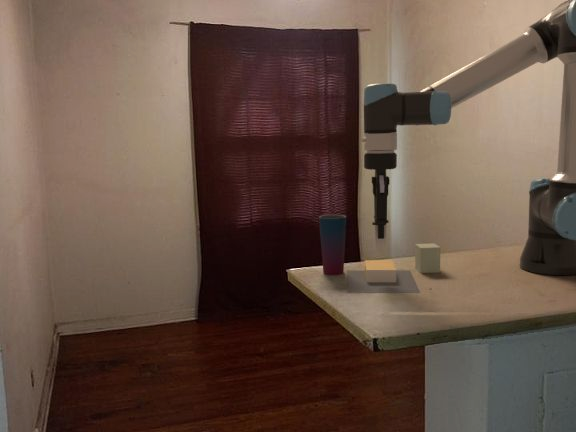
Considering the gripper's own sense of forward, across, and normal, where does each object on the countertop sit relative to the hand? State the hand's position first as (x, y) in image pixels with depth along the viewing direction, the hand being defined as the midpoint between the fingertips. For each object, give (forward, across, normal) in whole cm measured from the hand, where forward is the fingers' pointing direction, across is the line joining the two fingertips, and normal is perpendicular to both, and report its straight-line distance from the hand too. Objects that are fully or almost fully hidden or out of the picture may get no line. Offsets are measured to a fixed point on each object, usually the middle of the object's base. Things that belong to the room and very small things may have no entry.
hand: (380, 251), depth 141 cm
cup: (+8, -7, -11) cm, 16 cm away
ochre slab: (+6, +2, 0) cm, 6 cm away
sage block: (+8, -9, +12) cm, 17 cm away
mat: (+8, +1, 0) cm, 8 cm away
